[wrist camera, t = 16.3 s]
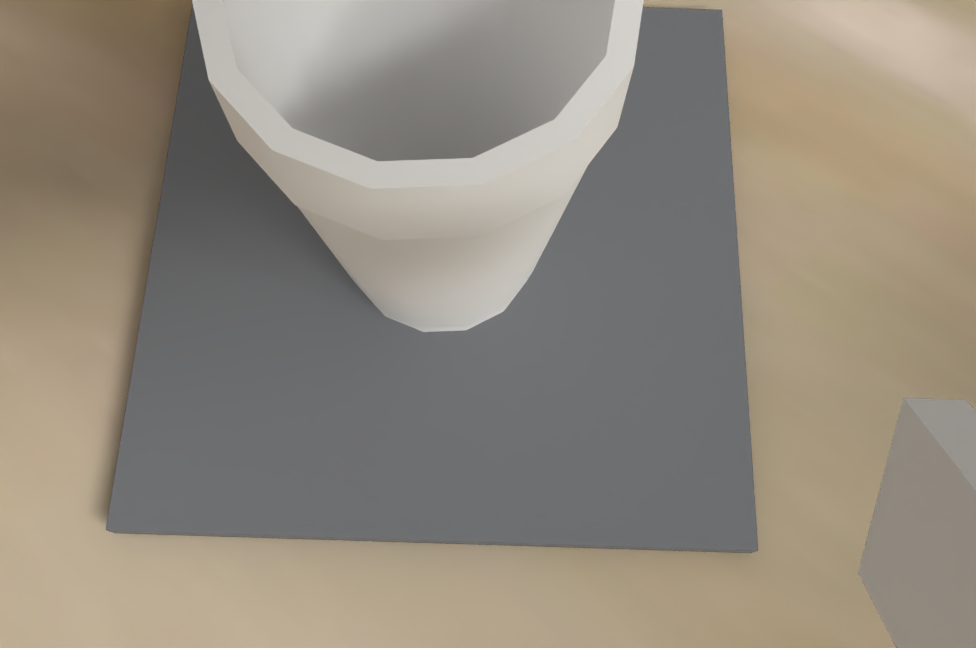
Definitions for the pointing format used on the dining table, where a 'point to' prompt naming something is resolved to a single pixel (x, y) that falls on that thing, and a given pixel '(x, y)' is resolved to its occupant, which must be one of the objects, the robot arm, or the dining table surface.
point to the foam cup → (425, 131)
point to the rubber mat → (454, 352)
